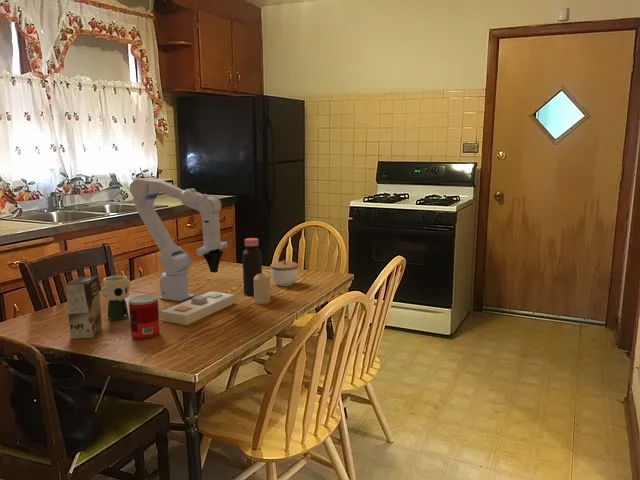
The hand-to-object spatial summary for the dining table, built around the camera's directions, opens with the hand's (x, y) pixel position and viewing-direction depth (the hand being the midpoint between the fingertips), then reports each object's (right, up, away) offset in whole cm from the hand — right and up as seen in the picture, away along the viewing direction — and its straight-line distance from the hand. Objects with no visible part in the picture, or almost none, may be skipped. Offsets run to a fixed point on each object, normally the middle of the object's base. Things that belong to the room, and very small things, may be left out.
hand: (214, 271), depth 191 cm
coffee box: (-32, -16, -29) cm, 46 cm away
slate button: (-3, -10, -10) cm, 15 cm away
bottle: (+12, -9, +11) cm, 19 cm away
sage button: (+1, -10, -2) cm, 11 cm away
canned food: (-14, -17, -31) cm, 38 cm away
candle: (+17, -11, 0) cm, 20 cm away
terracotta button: (-6, -13, -17) cm, 22 cm away
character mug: (-27, -14, -15) cm, 34 cm away
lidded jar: (+23, -6, +24) cm, 33 cm away
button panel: (-3, -12, -9) cm, 16 cm away
